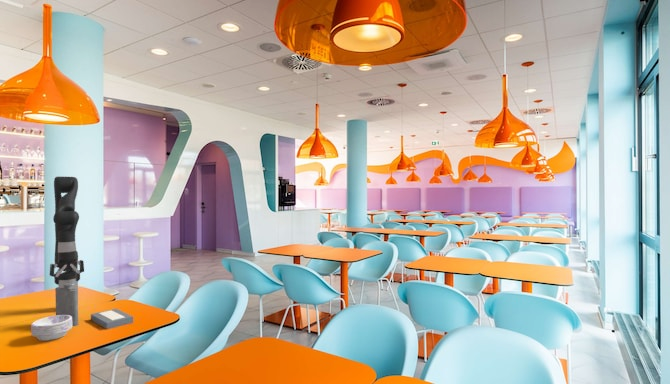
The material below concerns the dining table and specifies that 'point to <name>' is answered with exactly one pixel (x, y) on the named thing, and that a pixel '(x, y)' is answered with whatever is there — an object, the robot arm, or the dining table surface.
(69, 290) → the hip flask
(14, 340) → the dining table surface
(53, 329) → the paper bowls
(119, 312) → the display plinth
